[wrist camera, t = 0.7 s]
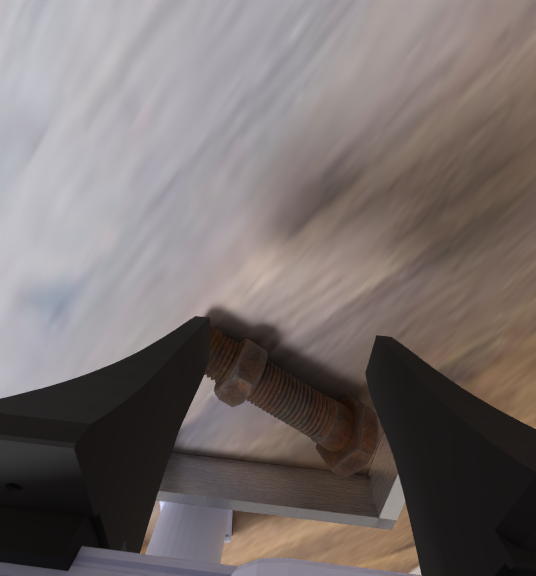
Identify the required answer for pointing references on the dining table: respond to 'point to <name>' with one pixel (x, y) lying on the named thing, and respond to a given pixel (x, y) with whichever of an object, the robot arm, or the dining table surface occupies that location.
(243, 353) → the bolt
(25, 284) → the dining table surface
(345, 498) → the keeper
